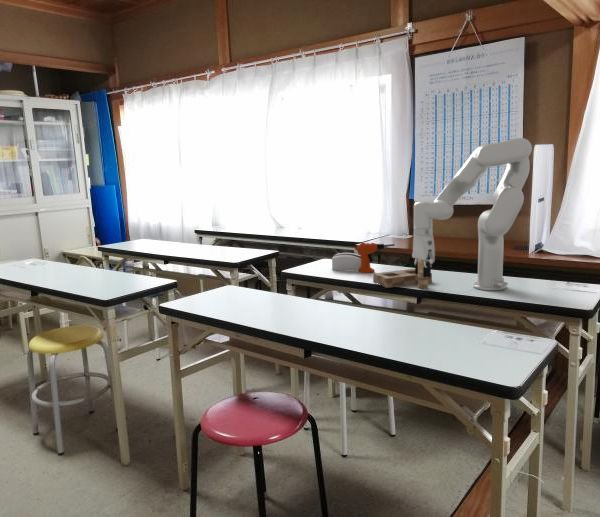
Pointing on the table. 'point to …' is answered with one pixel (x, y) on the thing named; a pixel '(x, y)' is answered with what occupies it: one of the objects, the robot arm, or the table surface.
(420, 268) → the peg
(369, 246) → the toy drill
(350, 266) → the grey toaster
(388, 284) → the board
